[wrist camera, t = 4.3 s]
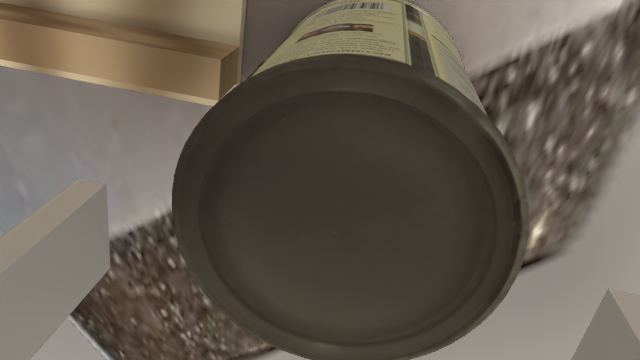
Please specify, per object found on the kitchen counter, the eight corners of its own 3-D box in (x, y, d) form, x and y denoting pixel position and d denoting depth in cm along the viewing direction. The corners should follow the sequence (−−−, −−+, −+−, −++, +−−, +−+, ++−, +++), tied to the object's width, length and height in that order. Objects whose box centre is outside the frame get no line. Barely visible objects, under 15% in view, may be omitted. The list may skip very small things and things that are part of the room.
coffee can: (343, 209, 30) (303, 406, 18) (236, 67, 27) (99, 184, 15) (503, 122, 27) (595, 293, 14) (400, -54, 24) (402, -32, 11)
